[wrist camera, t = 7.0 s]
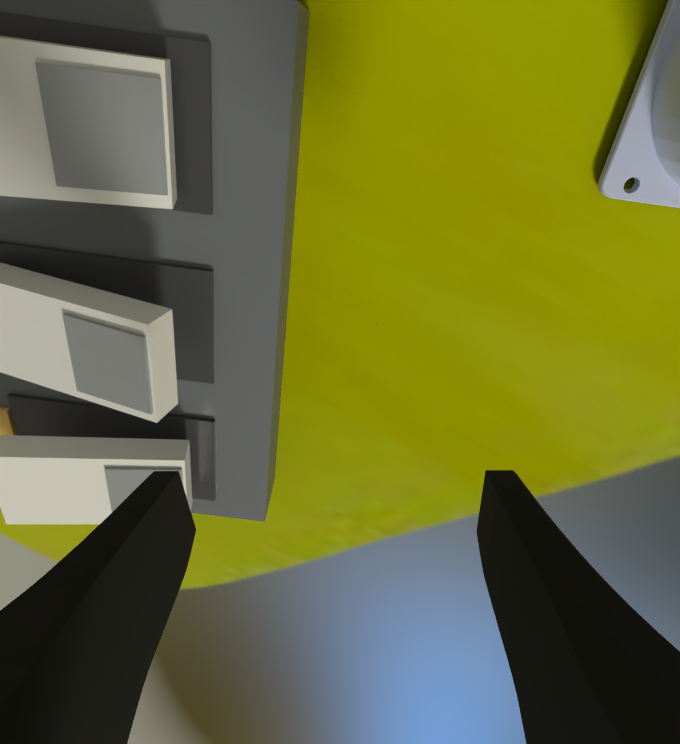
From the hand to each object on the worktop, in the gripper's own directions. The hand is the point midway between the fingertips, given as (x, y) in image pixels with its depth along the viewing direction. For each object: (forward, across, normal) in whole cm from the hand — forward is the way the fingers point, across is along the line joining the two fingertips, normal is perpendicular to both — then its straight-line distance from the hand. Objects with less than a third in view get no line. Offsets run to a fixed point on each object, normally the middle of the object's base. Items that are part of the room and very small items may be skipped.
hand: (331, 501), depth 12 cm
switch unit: (+10, +9, -2) cm, 14 cm away
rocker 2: (+6, +10, +5) cm, 12 cm away
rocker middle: (+6, +9, -2) cm, 11 cm away
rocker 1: (+6, +8, -8) cm, 12 cm away
